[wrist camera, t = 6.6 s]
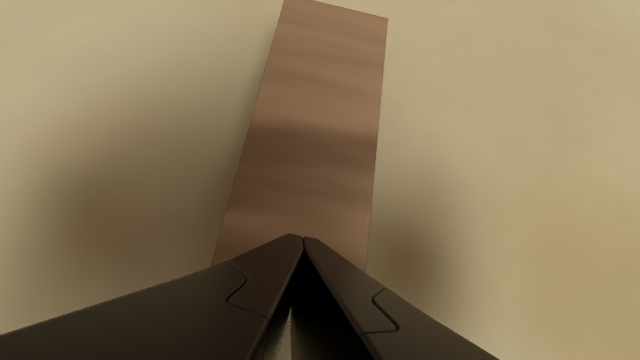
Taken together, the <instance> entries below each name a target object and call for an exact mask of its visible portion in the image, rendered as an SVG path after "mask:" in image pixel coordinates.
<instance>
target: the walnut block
mask: <svg viewBox="0 0 640 360" xmlns="http://www.w3.org/2000/svg"><path fill="white" fill-rule="evenodd" d="M387 25H388V18H384V17H380V16H376V15H372V14H367V13H363V12H359V11H355V10H351V9H347V8H343V7H338V6H334V5H330V4H326V3H322V2H318V1H313V0H284V2H283V6H282V10H281V13H280V17H279V20H278V24H277V28H276V31H275V35H274V39H273V42H272V46H271V50H270V53H269V57H268V60H267V64H266V68H265V71H264V75H263V79H262V82H261V86H260V89H259V93H258V97H257V100H256V104H255V108H254V111H253V115H252V119H251V122H250V126H249V129H248V133H247V137H246V140H245V144H244V148H243V151H242V155H241V158H240V162H239V166H238V169H237V173H236V177H235V180H234V184H233V187H232V191H231V195H230V198H229V202H228V206H227V209H226V213H225V217H224V220H223V224H222V227H221V231H220V235H219V238H218V242H217V246H216V249H215V253H214V256H213V260H212V264H211V267H212V266H214V265H217V264H219V263H221V262H223V261H227V260H229V259H232V258H234V257H236V256H238V255H240V254H243V253H245V252H247V251H249V250H252V249H254V248H256V247H258V246H261V245H263V244H265V243H267V242H270V241H272V240H274V239H276V238H278V237H281V236H283V235H285V234H288V233H290V234H296V235H301V236H302V238H303V237H304V236H307V237H312V238H317V239H319V240H320V241H322V242H323V243H324V244H326V245H327V246H329V247H330V248H331V249H333V250H334V251H336V252H337V253H338V254H340V255H341V256H343V257H344V258H345V259H347V260H348V261H350V262H351V263H352V264H354V265H355V266H356V267H358V268H359V269H361V270H362V271H363V272H365V271H366V259H367V248H368V237H369V226H370V215H371V204H372V192H373V181H374V170H375V159H376V148H377V137H378V125H379V114H380V103H381V92H382V81H383V70H384V58H385V47H386V36H387ZM290 312H291V309H290ZM287 325H290V313H289V317H288V321H287Z"/></svg>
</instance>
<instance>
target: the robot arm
mask: <svg viewBox="0 0 640 360" xmlns="http://www.w3.org/2000/svg"><path fill="white" fill-rule="evenodd" d="M290 309H291V312H290ZM289 313H290V326H291V359H292V360H499V359H498V358H496V357H495V356H493V355H491V354H490V353H488V352H486V351H485V350H483V349H482V348H480V347H478V346H477V345H475V344H473V343H472V342H470V341H469V340H467V339H465V338H464V337H462V336H460V335H459V334H457V333H456V332H454V331H452V330H451V329H449V328H447V327H446V326H444V325H443V324H441V323H439V322H438V321H436V320H434V319H433V318H431V317H430V316H428V315H427V314H425V313H423V312H422V311H420V310H419V309H417V308H416V307H414V306H413V305H411V304H410V303H408V302H407V301H405V300H404V299H402V298H401V297H399V296H398V295H397V294H395V293H394V292H392V291H391V290H390V289H388V288H387V289H386V287H384V286H383V285H382V284H380V283H379V282H377V281H376V280H375V279H373V278H372V277H370V276H369V275H368V274H366V273H365V272H363V271H362V270H361V269H359V268H358V267H356V266H355V265H354V264H352V263H351V262H350V261H348V260H347V259H345V258H344V257H343V256H341V255H340V254H338V253H337V252H336V251H334V250H333V249H331V248H330V247H329V246H327V245H326V244H324V243H323V242H322V241H320V240H319V239H317V238H312V237H307V236H304V237H303V238H302V236H301V235H296V234H290V233H288V234H285V235H283V236H281V237H278V238H276V239H274V240H272V241H270V242H267V243H265V244H263V245H261V246H258V247H256V248H254V249H252V250H249V251H247V252H245V253H243V254H240V255H238V256H236V257H234V258H232V259H229V260H227V261H223V262H221V263H219V264H217V265H214V266H212V267H209V268H207V269H204V270H202V271H199V272H196V273H193V274H190V275H187V276H184V277H181V278H178V279H175V280H172V281H169V282H166V283H162V284H159V285H156V286H153V287H150V288H147V289H144V290H140V291H137V292H134V293H131V294H128V295H125V296H121V297H118V298H115V299H112V300H109V301H106V302H103V303H99V304H96V305H93V306H90V307H87V308H84V309H81V310H77V311H74V312H71V313H68V314H65V315H62V316H58V317H55V318H52V319H49V320H46V321H43V322H40V323H36V324H33V325H30V326H27V327H24V328H21V329H17V330H14V331H11V332H8V333H5V334H2V335H0V360H276V359H277V356H278V352H279V349H280V345H281V342H282V339H283V335H284V332H285V328H286V325H287V321H288V317H289Z"/></svg>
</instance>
